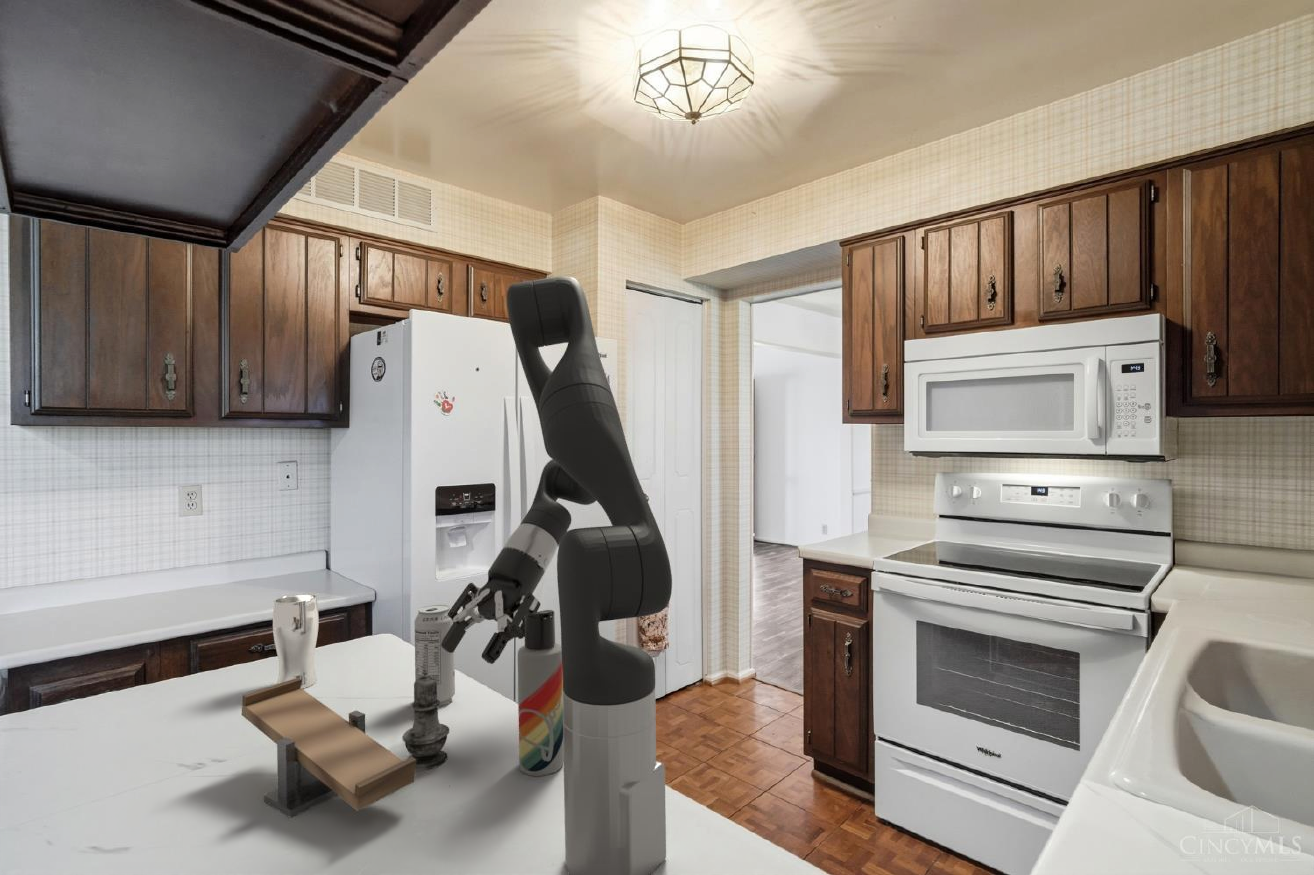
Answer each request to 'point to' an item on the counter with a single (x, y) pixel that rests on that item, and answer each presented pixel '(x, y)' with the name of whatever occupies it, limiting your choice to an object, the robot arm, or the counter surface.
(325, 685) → the counter surface
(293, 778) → the pivot stand
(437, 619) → the energy drink can
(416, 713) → the dark grey turned piece
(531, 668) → the lotion bottle
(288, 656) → the beer glass
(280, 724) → the beam
